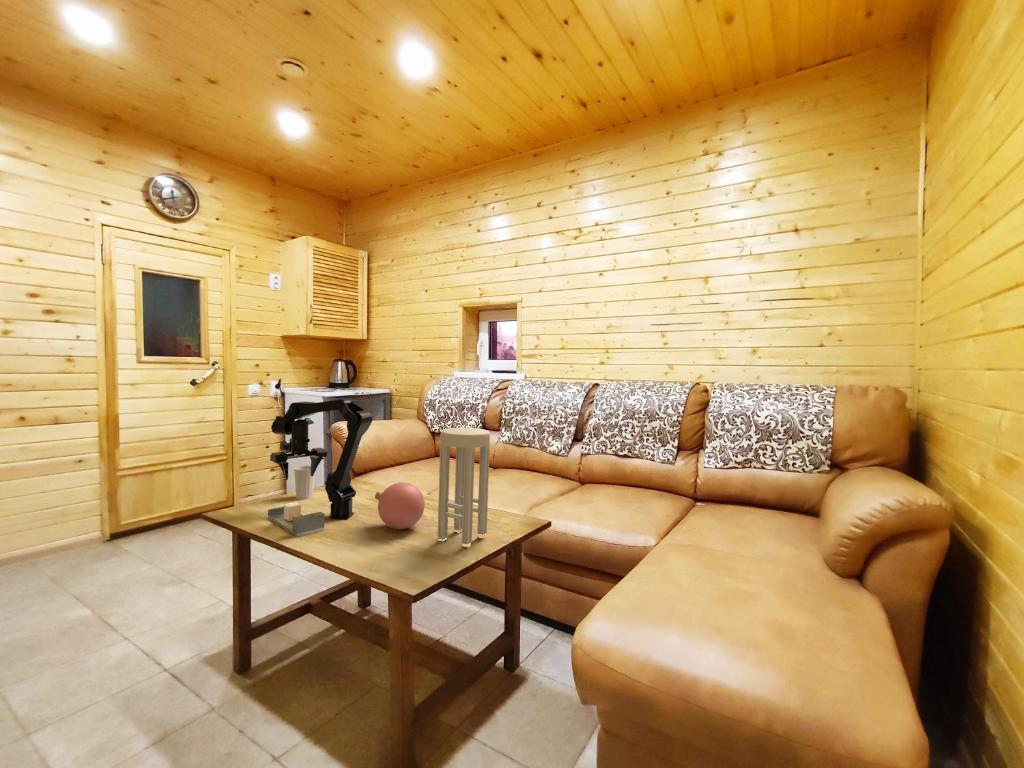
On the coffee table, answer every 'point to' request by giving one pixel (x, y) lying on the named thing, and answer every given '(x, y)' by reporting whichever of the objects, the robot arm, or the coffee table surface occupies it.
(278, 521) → the gray display stand
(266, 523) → the coffee table surface
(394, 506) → the balloon
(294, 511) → the cream rectangular block
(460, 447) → the stool
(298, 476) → the cup
